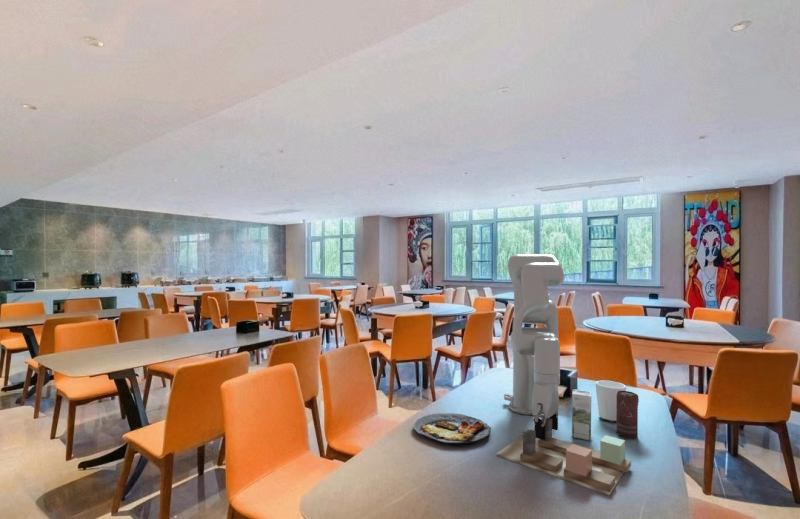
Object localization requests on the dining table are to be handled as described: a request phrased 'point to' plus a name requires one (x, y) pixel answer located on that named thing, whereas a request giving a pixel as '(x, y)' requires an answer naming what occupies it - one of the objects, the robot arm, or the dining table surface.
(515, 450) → the board
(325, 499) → the dining table surface
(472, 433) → the food plate
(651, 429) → the dining table surface
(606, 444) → the cube
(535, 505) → the dining table surface
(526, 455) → the strip piece
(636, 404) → the can
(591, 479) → the strip piece
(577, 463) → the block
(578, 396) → the syrup box
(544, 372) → the robot arm
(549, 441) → the strip
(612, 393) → the cup
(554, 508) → the dining table surface
